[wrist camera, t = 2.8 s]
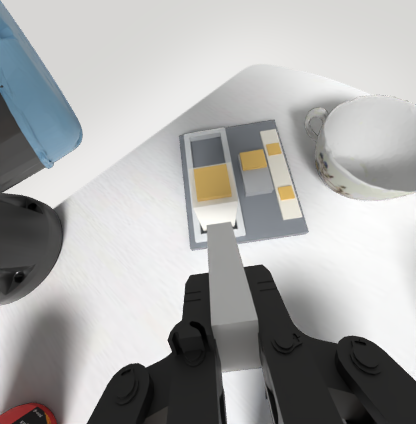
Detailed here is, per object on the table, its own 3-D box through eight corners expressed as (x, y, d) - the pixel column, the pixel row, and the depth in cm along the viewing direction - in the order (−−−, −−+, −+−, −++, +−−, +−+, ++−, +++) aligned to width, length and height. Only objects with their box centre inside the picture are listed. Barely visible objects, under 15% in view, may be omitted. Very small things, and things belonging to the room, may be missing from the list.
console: (191, 250, 27) (188, 247, 24) (180, 140, 33) (176, 127, 30) (305, 234, 26) (314, 228, 23) (272, 125, 32) (276, 110, 30)
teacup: (413, 175, 28) (483, 135, 20) (357, 237, 26) (412, 219, 18) (321, 116, 32) (350, 65, 24) (267, 165, 30) (281, 126, 22)
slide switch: (203, 231, 26) (191, 205, 17) (200, 203, 28) (187, 165, 18) (234, 227, 26) (238, 198, 17) (229, 199, 27) (230, 158, 18)
